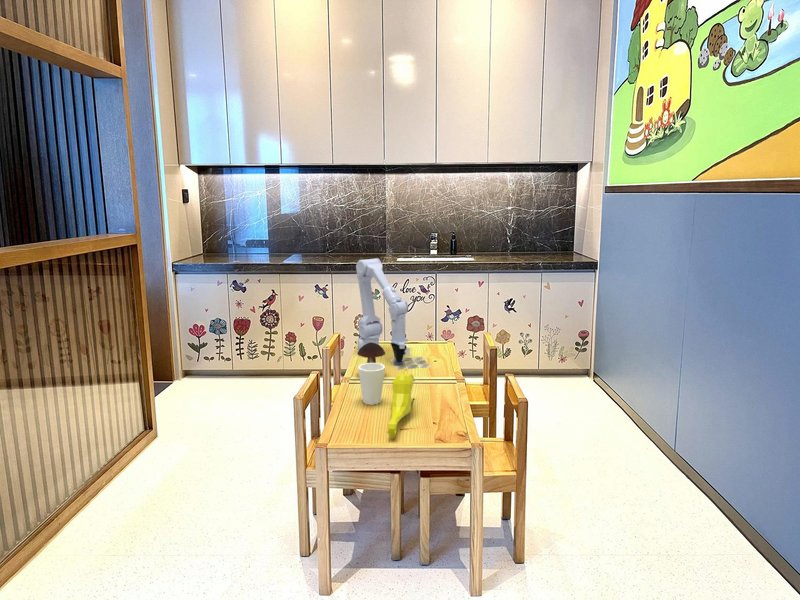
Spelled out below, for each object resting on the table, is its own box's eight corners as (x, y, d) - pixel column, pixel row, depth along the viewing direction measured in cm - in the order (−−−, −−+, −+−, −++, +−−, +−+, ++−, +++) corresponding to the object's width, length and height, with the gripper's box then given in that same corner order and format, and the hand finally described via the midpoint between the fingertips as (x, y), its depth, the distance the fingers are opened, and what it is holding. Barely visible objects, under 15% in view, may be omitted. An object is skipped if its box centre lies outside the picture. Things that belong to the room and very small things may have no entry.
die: (398, 359, 253) (398, 348, 252) (396, 355, 257) (396, 345, 256) (409, 358, 254) (409, 347, 253) (407, 355, 259) (407, 344, 258)
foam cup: (358, 397, 207) (358, 363, 205) (384, 396, 208) (384, 362, 205) (358, 407, 198) (358, 371, 195) (385, 406, 198) (385, 370, 196)
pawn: (394, 365, 240) (394, 350, 238) (392, 362, 243) (392, 347, 242) (404, 364, 240) (404, 349, 239) (402, 362, 244) (402, 347, 243)
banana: (398, 422, 206) (379, 440, 171) (400, 366, 207) (382, 373, 172) (416, 423, 204) (402, 441, 170) (419, 367, 206) (404, 374, 171)
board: (396, 372, 234) (396, 369, 234) (389, 361, 249) (389, 359, 248) (431, 369, 238) (431, 367, 237) (422, 359, 252) (422, 356, 252)
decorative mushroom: (388, 381, 223) (388, 345, 220) (361, 384, 220) (360, 347, 217) (380, 373, 233) (380, 337, 230) (354, 375, 230) (354, 340, 227)
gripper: (411, 333, 233) (411, 365, 235) (403, 325, 247) (403, 355, 249) (395, 334, 231) (395, 366, 234) (387, 325, 245) (388, 356, 248)
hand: (398, 360), depth 242 cm, fingers closed on pawn, 3 cm apart
